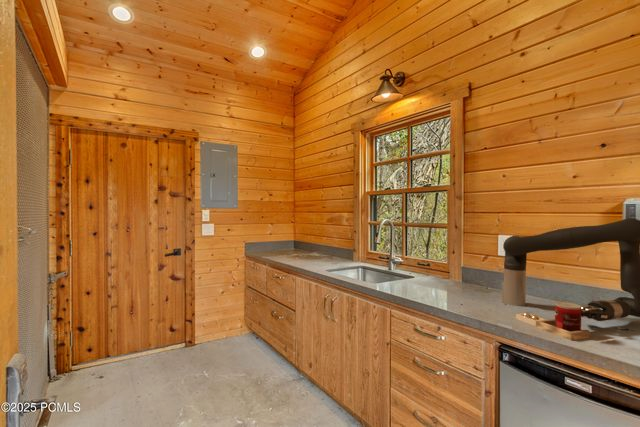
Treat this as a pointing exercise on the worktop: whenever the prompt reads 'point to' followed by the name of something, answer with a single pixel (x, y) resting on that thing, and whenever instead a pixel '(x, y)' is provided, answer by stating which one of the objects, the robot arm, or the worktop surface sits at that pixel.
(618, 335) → the worktop surface
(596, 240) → the robot arm
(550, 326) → the birch holder
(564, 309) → the canned food
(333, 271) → the worktop surface
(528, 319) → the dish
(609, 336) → the worktop surface
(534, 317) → the brass ball
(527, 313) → the steel ball
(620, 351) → the worktop surface
